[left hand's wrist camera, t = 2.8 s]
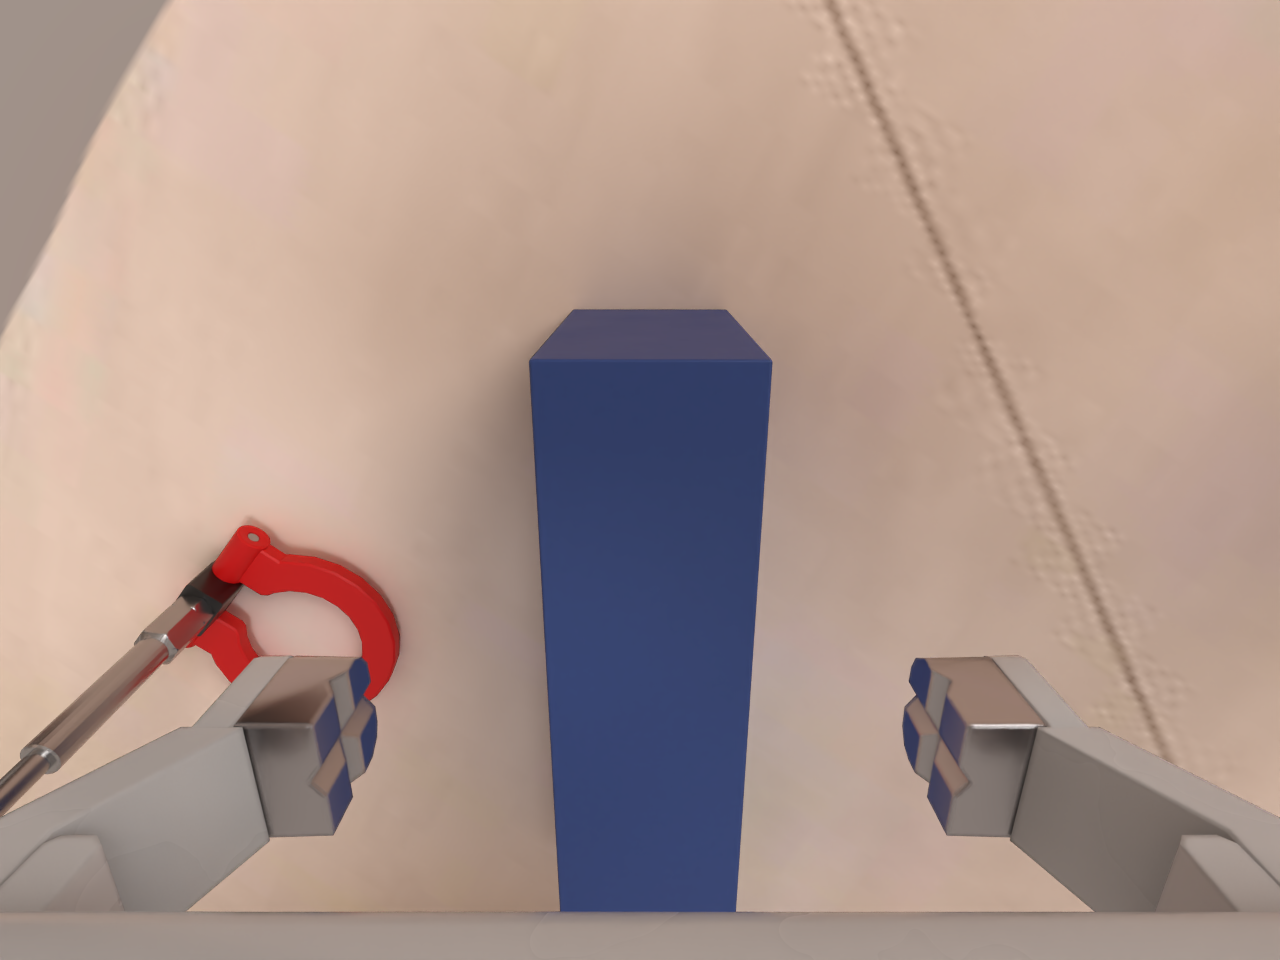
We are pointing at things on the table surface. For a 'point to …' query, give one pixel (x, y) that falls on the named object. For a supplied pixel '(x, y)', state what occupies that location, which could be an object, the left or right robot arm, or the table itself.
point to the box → (649, 598)
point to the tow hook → (210, 642)
